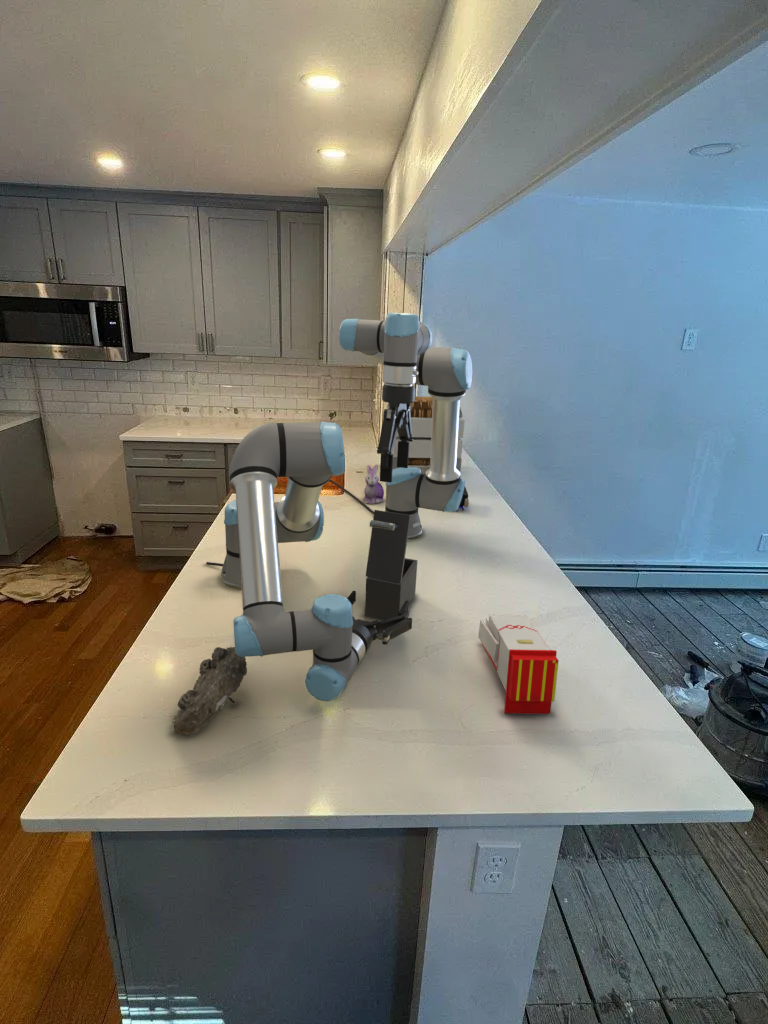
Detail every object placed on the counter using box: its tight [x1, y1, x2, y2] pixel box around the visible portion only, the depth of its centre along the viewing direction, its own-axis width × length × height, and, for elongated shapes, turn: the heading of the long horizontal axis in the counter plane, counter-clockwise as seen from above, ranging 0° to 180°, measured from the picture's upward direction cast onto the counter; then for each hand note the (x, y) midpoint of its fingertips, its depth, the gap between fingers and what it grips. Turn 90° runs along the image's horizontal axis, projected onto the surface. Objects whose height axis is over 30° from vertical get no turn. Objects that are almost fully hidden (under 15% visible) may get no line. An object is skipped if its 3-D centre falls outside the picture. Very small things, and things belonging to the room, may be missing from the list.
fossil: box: [172, 646, 248, 736], centre depth 111 cm, size 22×10×15 cm
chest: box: [364, 557, 418, 621], centre depth 150 cm, size 16×9×11 cm, turn 162°
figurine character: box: [458, 486, 470, 512], centre depth 229 cm, size 7×8×15 cm
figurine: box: [363, 464, 385, 505], centre depth 230 cm, size 9×10×15 cm
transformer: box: [386, 396, 465, 475], centre depth 268 cm, size 34×33×41 cm
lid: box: [365, 509, 411, 583], centre depth 137 cm, size 17×9×9 cm
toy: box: [477, 613, 560, 715], centre depth 124 cm, size 12×13×30 cm
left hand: (380, 600), depth 140 cm, fingers open, 13 cm apart
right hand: (394, 474), depth 136 cm, fingers open, 13 cm apart
